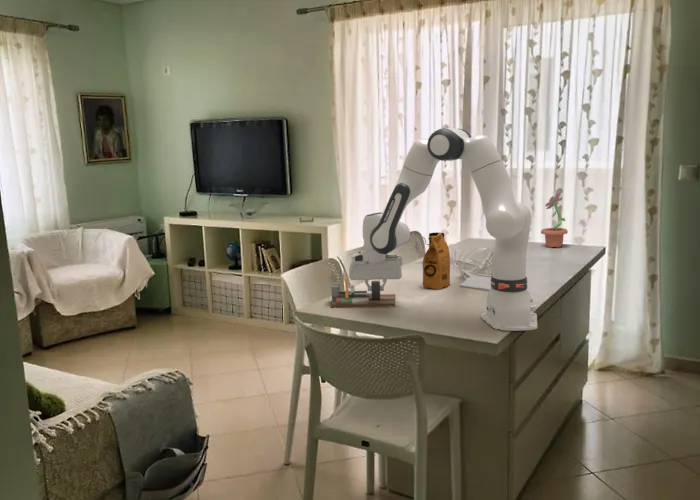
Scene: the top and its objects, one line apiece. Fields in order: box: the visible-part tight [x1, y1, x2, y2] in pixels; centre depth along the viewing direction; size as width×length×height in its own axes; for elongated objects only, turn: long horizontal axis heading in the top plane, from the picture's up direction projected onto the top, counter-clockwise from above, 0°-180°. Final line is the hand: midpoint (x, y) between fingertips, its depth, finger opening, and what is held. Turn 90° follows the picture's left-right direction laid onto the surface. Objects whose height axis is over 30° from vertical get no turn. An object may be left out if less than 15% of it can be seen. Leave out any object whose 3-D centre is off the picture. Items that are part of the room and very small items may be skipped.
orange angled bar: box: [344, 277, 350, 298], centre depth 229 cm, size 3×1×8 cm, turn 175°
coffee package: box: [422, 232, 451, 291], centre depth 254 cm, size 10×12×22 cm
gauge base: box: [330, 281, 396, 309], centre depth 234 cm, size 14×24×7 cm, turn 85°
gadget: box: [459, 273, 492, 292], centre depth 256 cm, size 23×15×4 cm, turn 139°
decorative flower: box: [540, 192, 568, 248], centre depth 330 cm, size 15×14×30 cm
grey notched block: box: [349, 280, 381, 299], centre depth 232 cm, size 6×13×7 cm, turn 85°
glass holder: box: [416, 232, 446, 256], centre depth 299 cm, size 9×14×15 cm, turn 81°
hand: (375, 290), depth 233 cm, fingers closed on grey notched block, 3 cm apart
